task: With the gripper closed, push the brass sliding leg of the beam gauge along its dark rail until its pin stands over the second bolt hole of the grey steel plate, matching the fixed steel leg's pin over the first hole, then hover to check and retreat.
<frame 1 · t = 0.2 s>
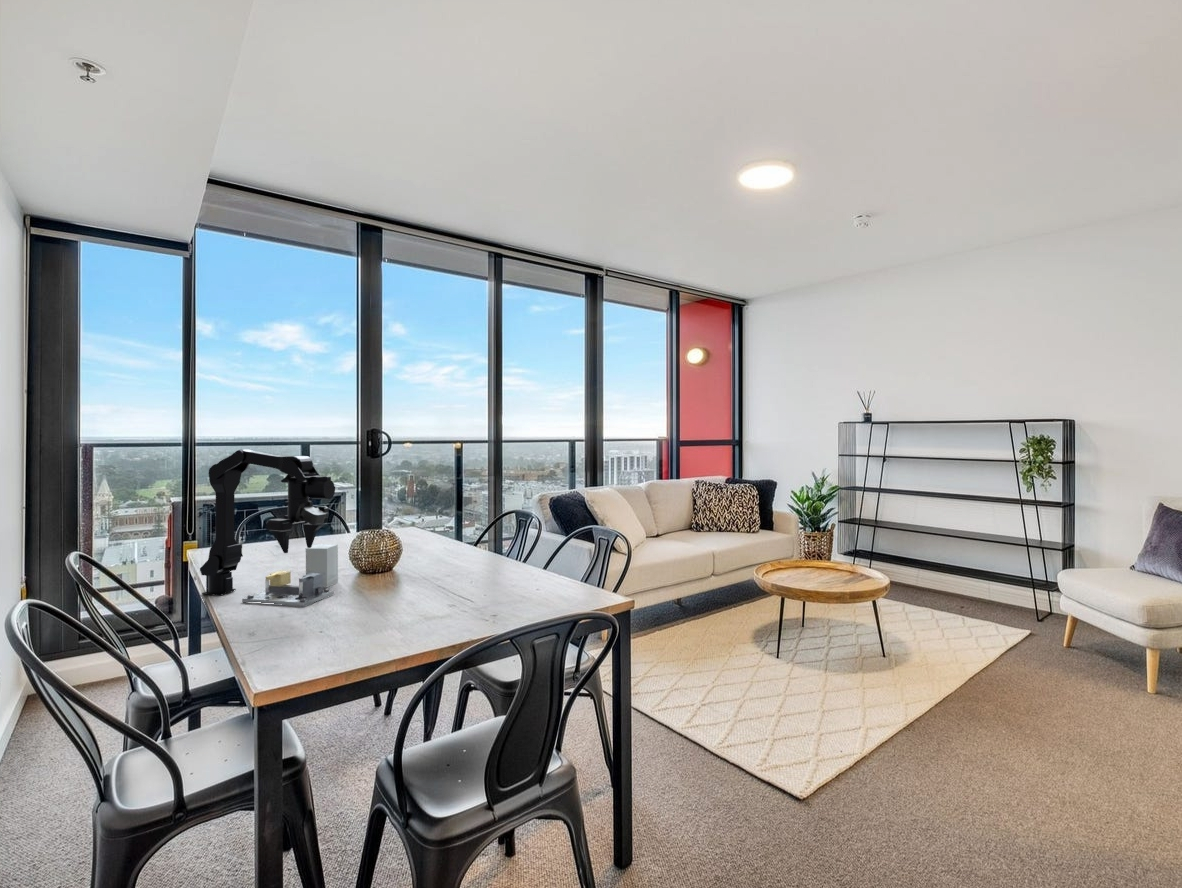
hand: (297, 550, 180), 14 cm above the table, tool pointing down, fingers open, 9 cm apart
supplement box: (322, 585, 196), on the table
bolt plate: (289, 598, 179), on the table
moving leg: (275, 582, 181), point 4 cm above the table, slide at 0.0 cm
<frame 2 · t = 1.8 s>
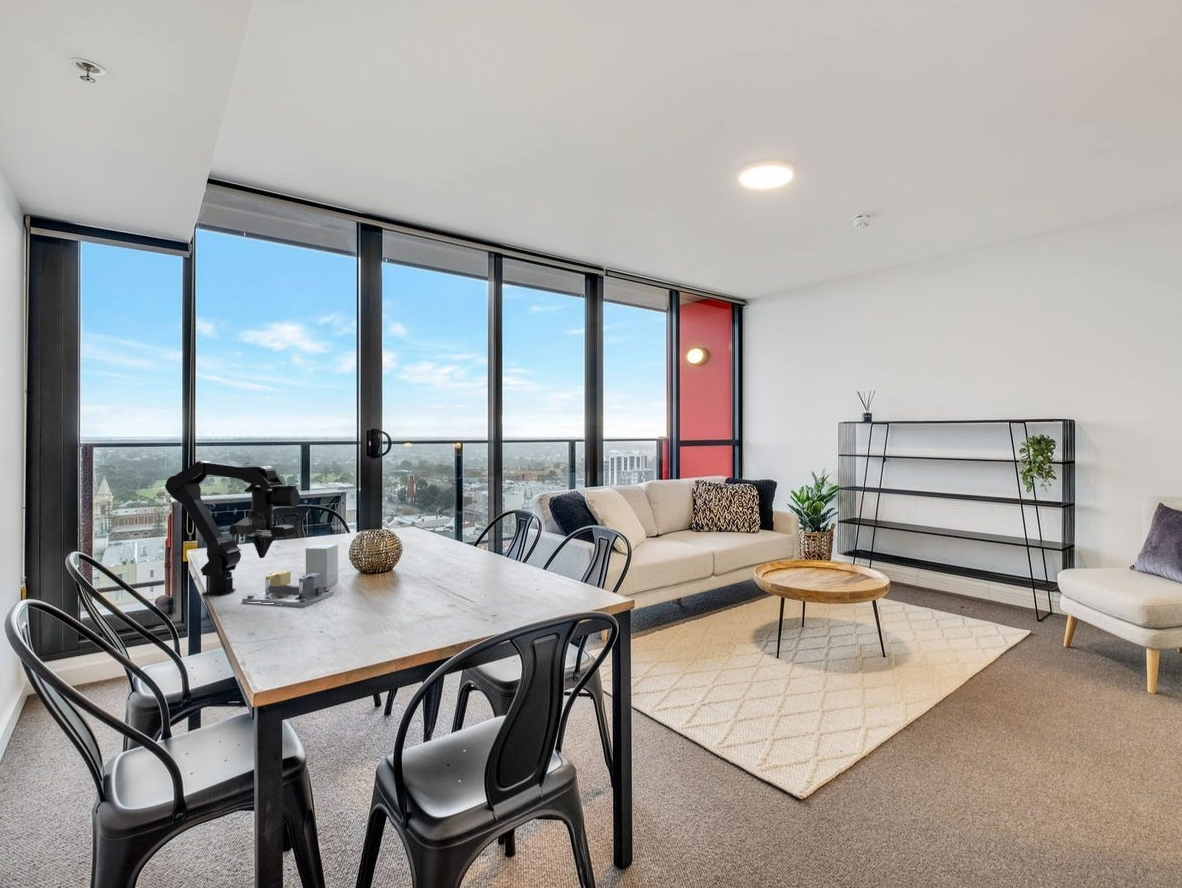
hand: (261, 557, 185), 11 cm above the table, tool pointing down, fingers closed
nothing on the table moved.
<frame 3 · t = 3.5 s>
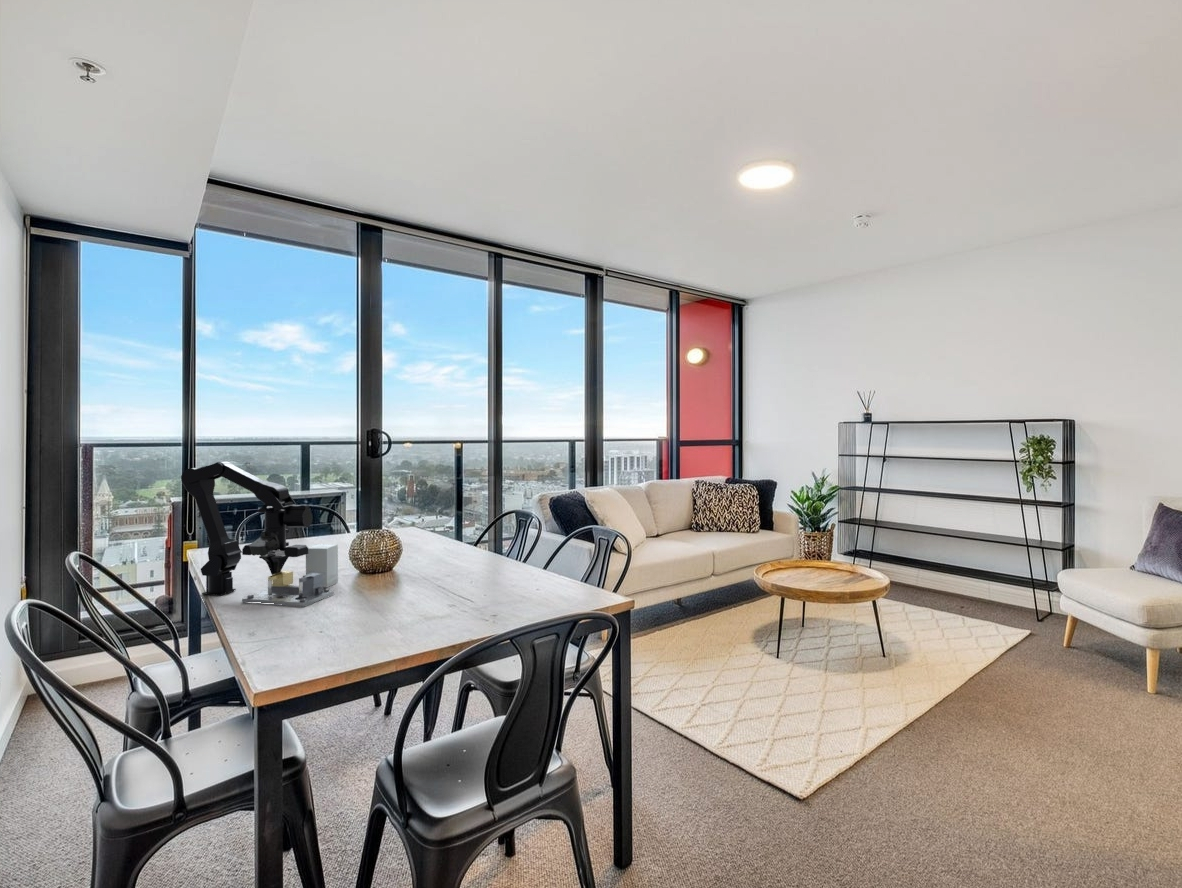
hand: (275, 578, 184), 5 cm above the table, tool pointing down, fingers closed
moving leg: (278, 583, 181), point 4 cm above the table, slide at 0.9 cm, touching gripper
everything else where it was.
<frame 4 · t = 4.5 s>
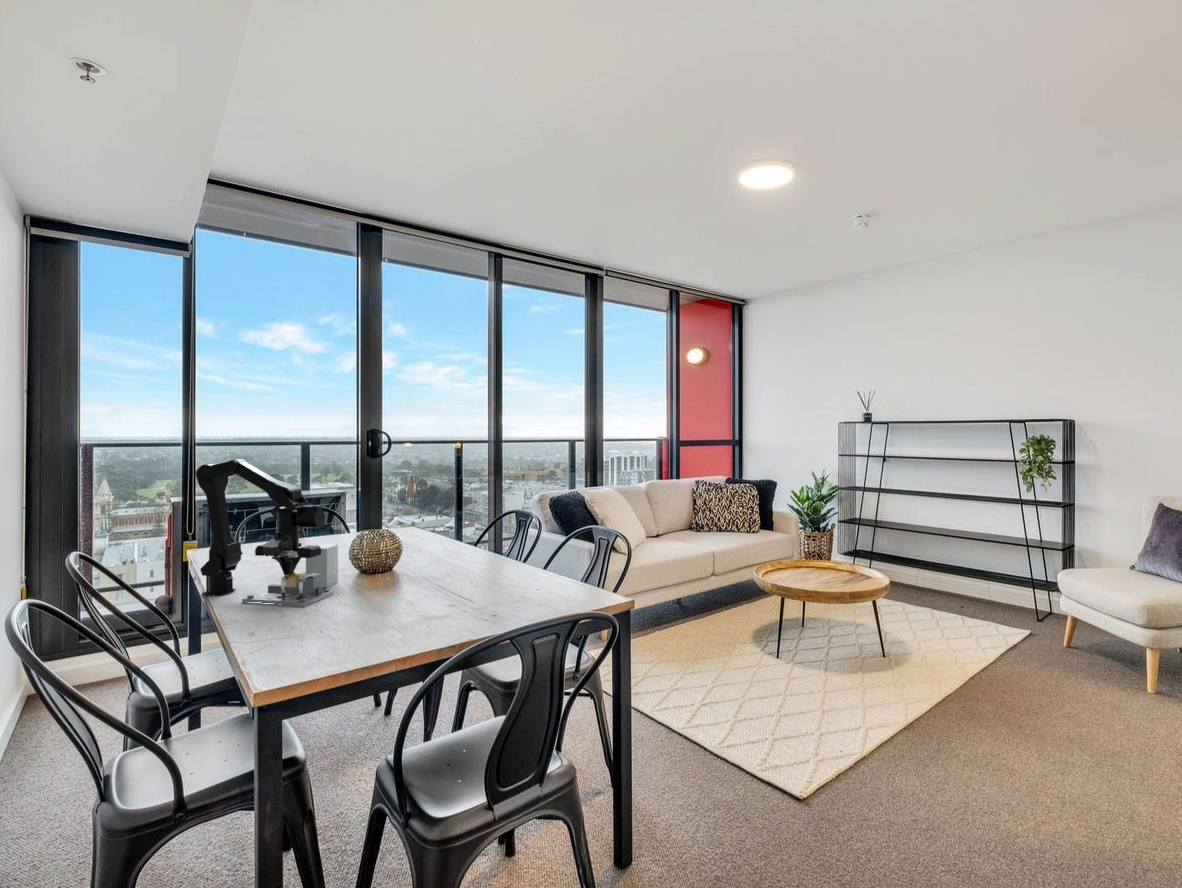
hand: (288, 579, 183), 5 cm above the table, tool pointing down, fingers closed
moving leg: (291, 583, 180), point 4 cm above the table, slide at 5.3 cm, touching gripper
everything else where it was.
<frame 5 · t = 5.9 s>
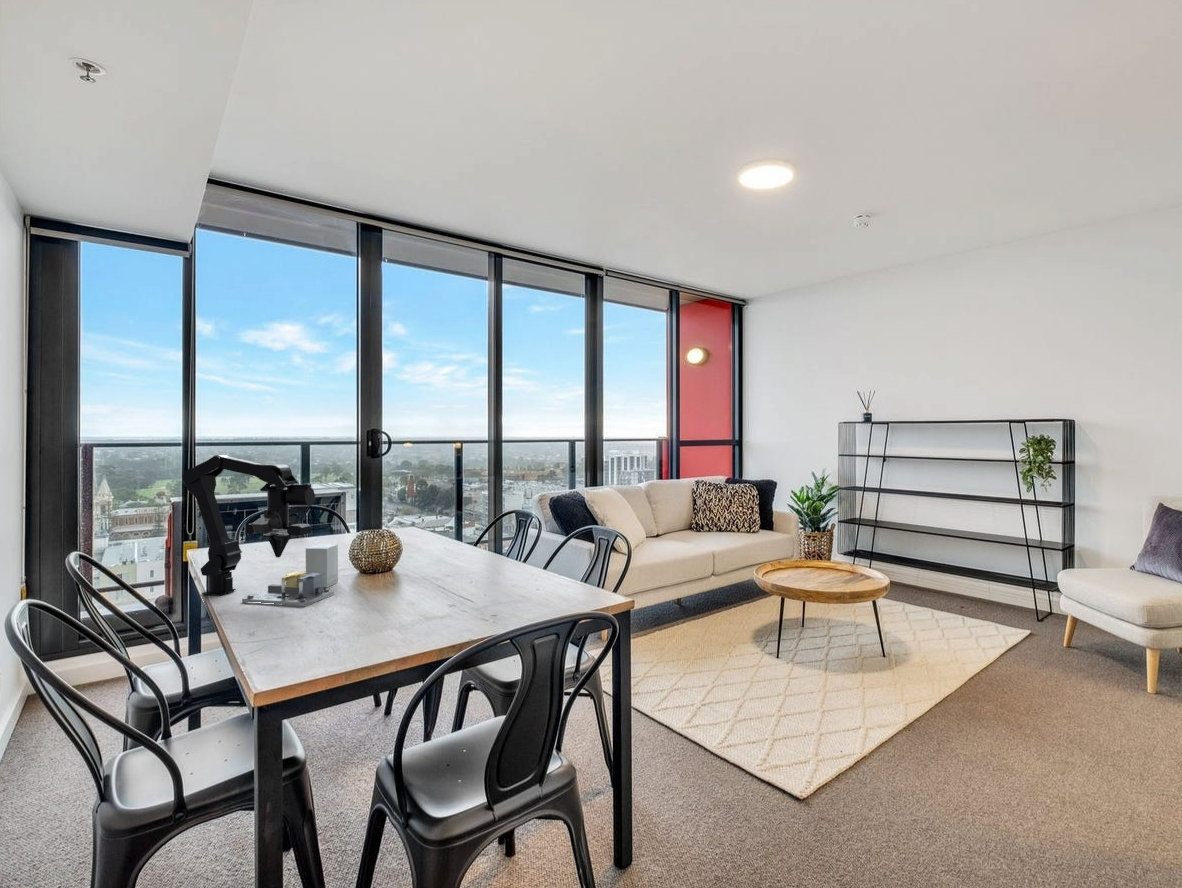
hand: (278, 557, 184), 11 cm above the table, tool pointing down, fingers closed
moving leg: (291, 583, 180), point 4 cm above the table, slide at 5.3 cm
everything else where it was.
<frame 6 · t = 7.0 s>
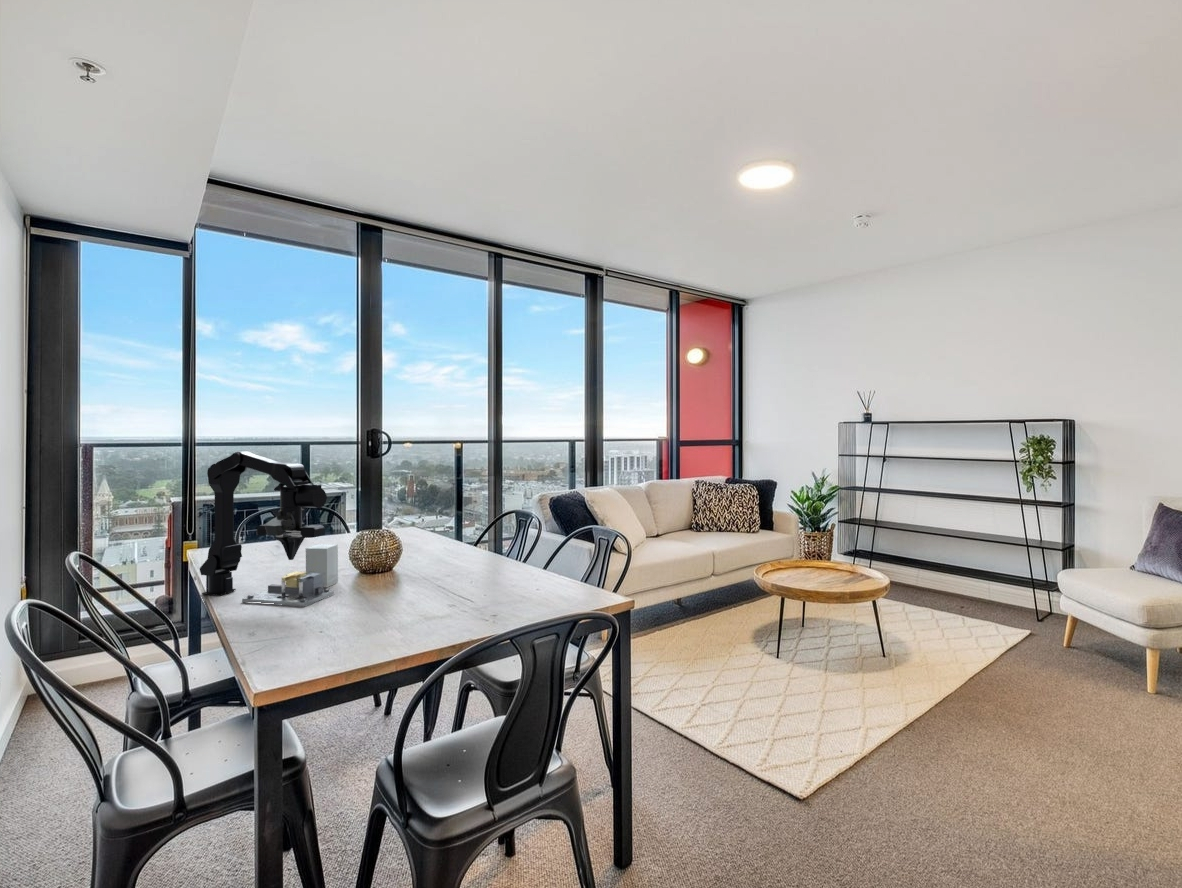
hand: (291, 559, 177), 12 cm above the table, tool pointing down, fingers closed
nothing on the table moved.
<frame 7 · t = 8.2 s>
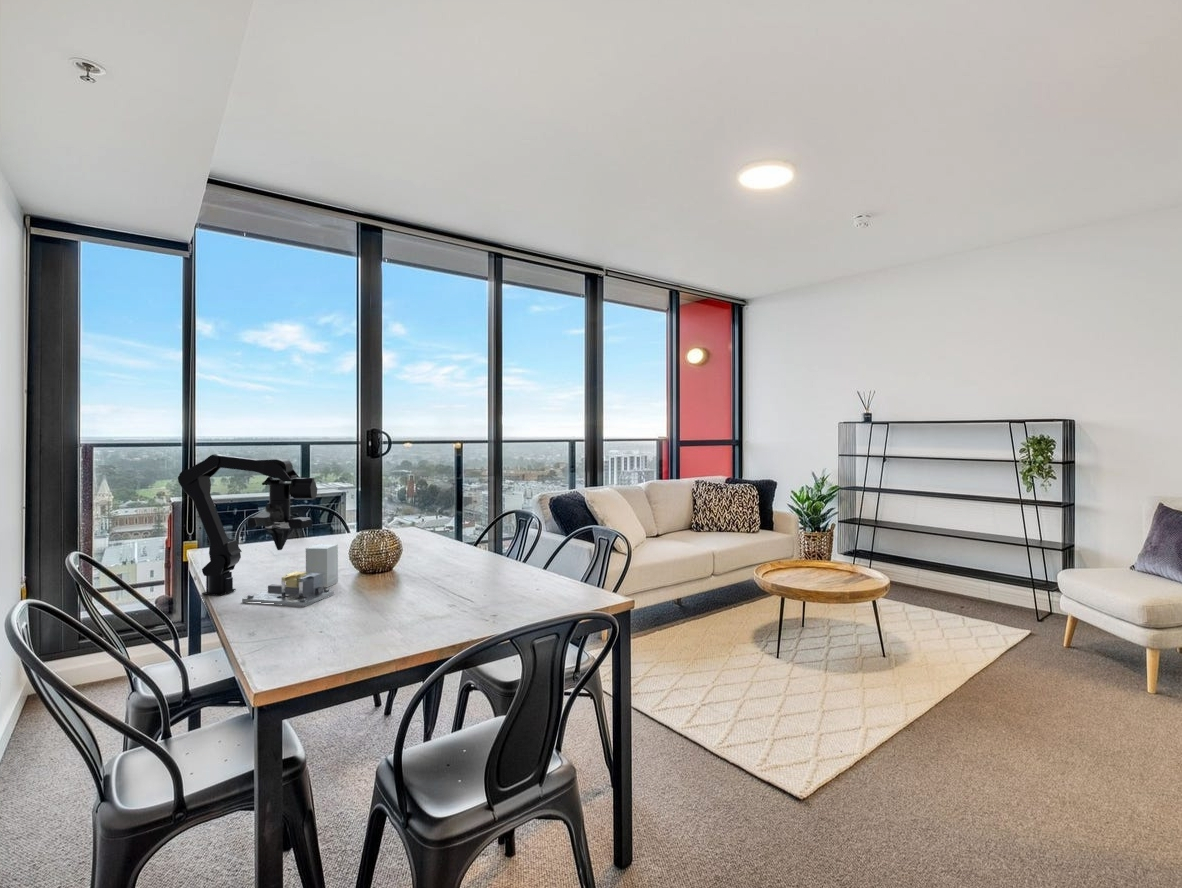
hand: (279, 549, 187), 13 cm above the table, tool pointing down, fingers closed
nothing on the table moved.
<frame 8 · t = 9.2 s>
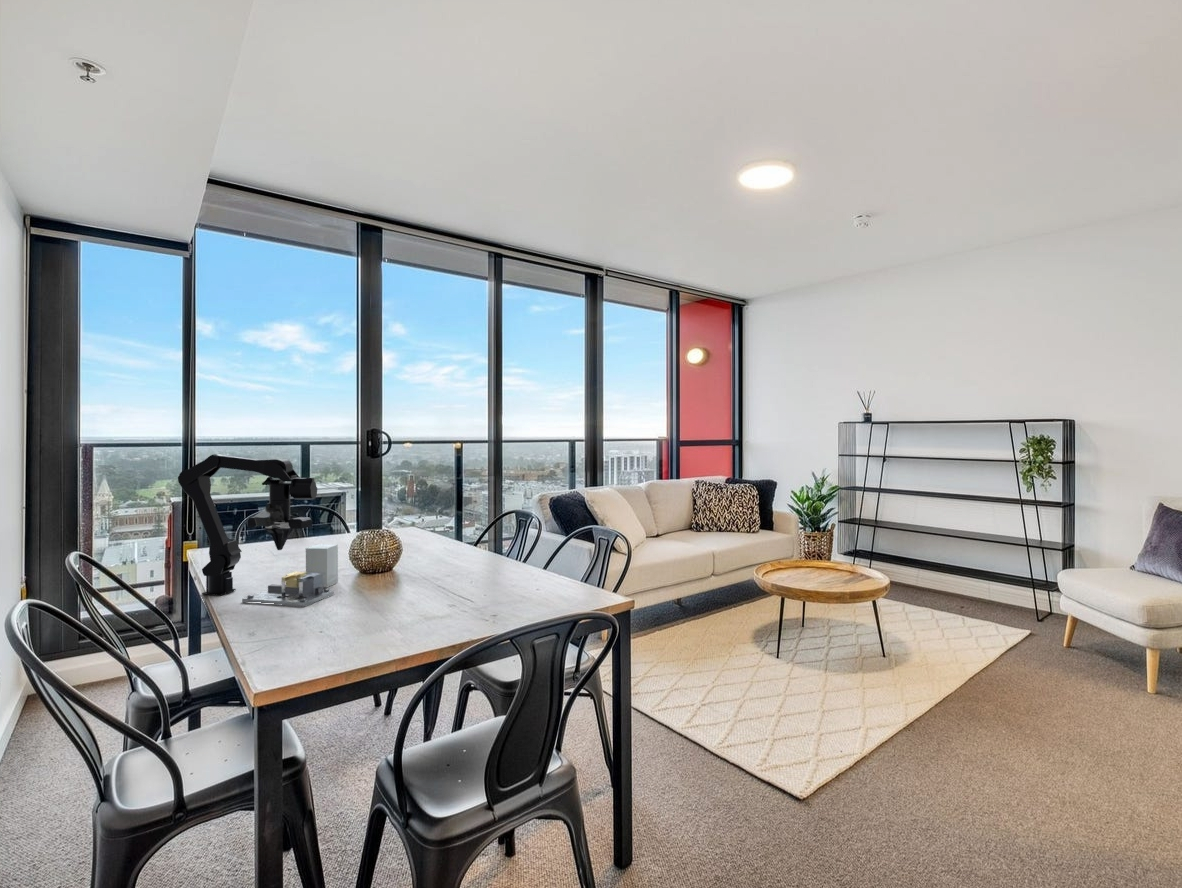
hand: (279, 549, 187), 13 cm above the table, tool pointing down, fingers closed
nothing on the table moved.
at the end: moving leg slide at 5.3 cm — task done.
